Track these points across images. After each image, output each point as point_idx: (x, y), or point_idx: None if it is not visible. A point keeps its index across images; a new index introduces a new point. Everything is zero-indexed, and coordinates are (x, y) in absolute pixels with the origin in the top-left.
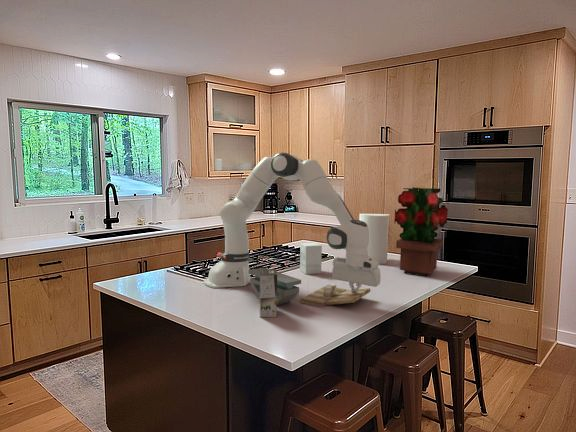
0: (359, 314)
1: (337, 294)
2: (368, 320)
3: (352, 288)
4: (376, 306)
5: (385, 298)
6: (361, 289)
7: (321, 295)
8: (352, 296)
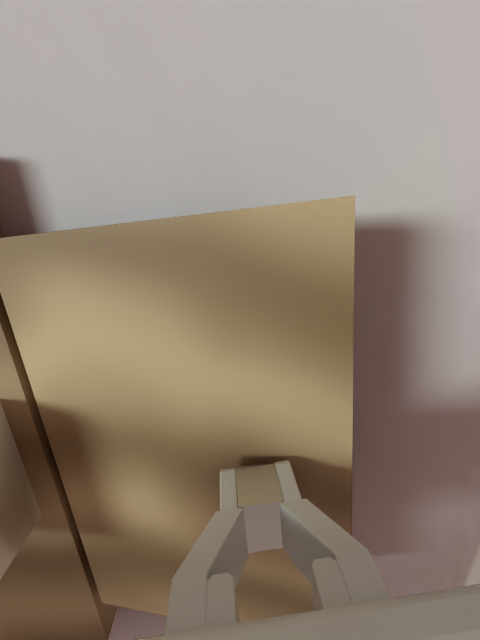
0: (376, 560)
1: (26, 404)
2: None
3: (242, 563)
4: (428, 359)
5: (442, 47)
6: (222, 241)
7: None
8: (286, 563)
